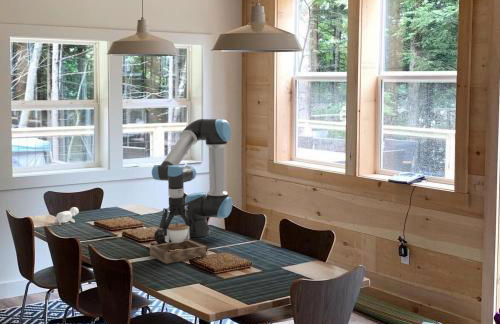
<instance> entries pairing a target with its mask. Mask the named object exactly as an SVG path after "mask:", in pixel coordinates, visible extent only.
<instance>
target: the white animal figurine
mask: <svg viewBox="0 0 500 324" xmlns="http://www.w3.org/2000/svg"><path fill="white" fill-rule="evenodd" d="M79 212H80V211H79V208H78V207H76V206H75V207H74V206H73V207H71V208H70V209H69V210H65V211H61V212H58V213H57V214H56V217H55V218H54V222H55V224H59V225H60V226H61V225H62V224H65V223H69V222H71V223H73V224H74V223H76V221H75V219H74V218H73V217H75V216H76V215H78V214H79Z"/></svg>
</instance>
